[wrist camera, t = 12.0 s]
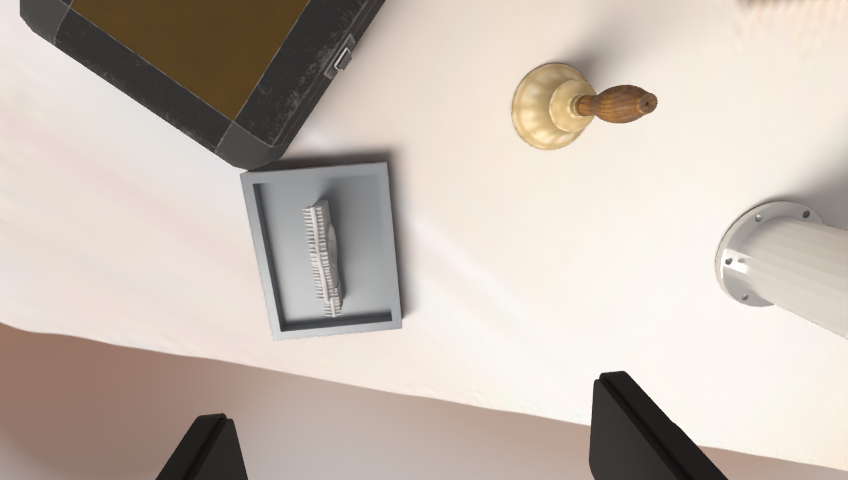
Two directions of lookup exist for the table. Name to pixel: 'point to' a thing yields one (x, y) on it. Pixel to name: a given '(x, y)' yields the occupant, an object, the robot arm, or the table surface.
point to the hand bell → (570, 105)
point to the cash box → (213, 61)
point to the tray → (356, 247)
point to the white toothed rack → (324, 256)
